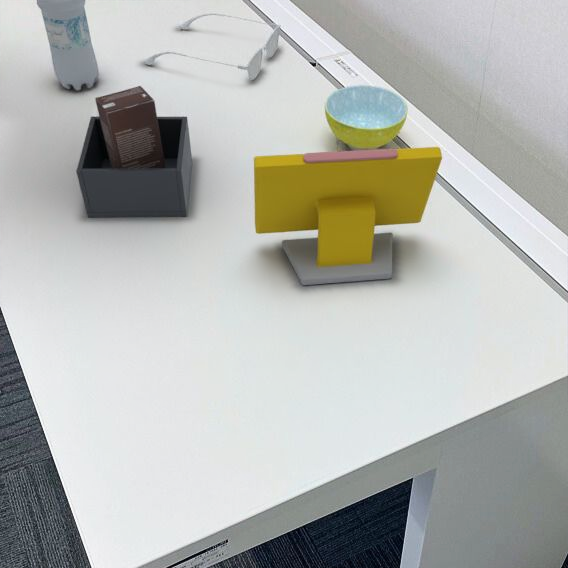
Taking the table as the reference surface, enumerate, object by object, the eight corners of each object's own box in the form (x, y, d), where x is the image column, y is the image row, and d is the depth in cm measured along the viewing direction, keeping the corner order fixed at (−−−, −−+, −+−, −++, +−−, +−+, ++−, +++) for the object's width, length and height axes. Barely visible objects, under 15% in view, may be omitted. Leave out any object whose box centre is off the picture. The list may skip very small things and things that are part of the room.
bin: (87, 217, 96) (76, 171, 91) (100, 161, 104) (90, 116, 99) (187, 216, 97) (181, 170, 92) (192, 161, 105) (187, 116, 100)
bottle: (46, 84, 117) (11, -56, 102) (81, 67, 121) (51, -70, 106) (77, 99, 114) (45, -43, 100) (111, 81, 118) (85, -57, 103)
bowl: (343, 174, 105) (345, 134, 100) (311, 131, 112) (312, 92, 107) (416, 158, 108) (422, 119, 104) (381, 117, 115) (385, 79, 111)
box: (154, 168, 102) (141, 83, 93) (169, 185, 100) (156, 100, 91) (111, 181, 100) (93, 95, 91) (124, 199, 97) (107, 113, 88)
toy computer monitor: (415, 234, 97) (431, 122, 85) (429, 276, 92) (449, 163, 80) (255, 245, 94) (250, 131, 82) (261, 289, 89) (256, 174, 77)
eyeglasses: (248, 88, 119) (247, 64, 116) (141, 67, 122) (137, 42, 119) (282, 45, 129) (282, 21, 126) (182, 26, 132) (180, 2, 129)
